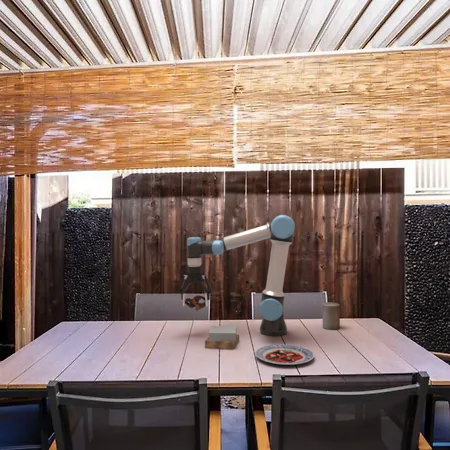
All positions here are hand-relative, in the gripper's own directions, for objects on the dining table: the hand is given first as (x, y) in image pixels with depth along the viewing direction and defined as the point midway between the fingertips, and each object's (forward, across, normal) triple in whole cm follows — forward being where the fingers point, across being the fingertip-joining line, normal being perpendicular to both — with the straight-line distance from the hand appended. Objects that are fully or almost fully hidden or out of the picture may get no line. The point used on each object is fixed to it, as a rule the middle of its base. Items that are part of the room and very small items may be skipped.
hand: (195, 305), depth 208 cm
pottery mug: (+2, 0, -1) cm, 2 cm away
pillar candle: (+18, -70, -32) cm, 79 cm away
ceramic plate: (+17, -49, +24) cm, 58 cm away
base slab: (+17, -17, +11) cm, 27 cm away
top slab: (+13, -18, +11) cm, 25 cm away
